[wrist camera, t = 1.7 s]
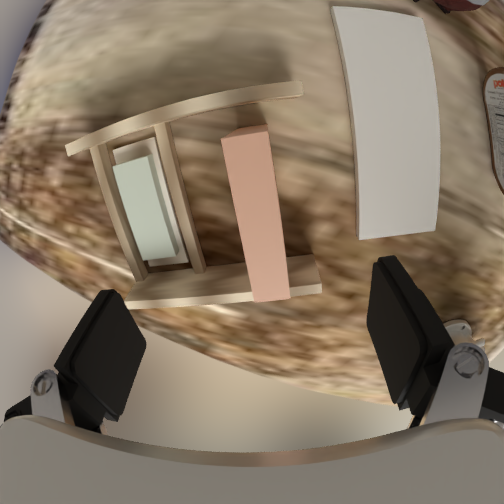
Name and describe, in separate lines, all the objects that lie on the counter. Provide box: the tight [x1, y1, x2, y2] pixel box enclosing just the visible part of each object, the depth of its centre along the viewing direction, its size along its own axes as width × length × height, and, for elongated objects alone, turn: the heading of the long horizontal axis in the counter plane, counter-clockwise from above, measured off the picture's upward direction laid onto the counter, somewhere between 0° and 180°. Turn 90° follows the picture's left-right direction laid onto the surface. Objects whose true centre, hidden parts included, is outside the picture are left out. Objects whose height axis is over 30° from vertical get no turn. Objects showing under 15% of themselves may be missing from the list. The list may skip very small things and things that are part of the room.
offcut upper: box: [113, 154, 179, 260], centre depth 24 cm, size 4×10×1 cm, turn 9°
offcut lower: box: [113, 137, 189, 267], centre depth 25 cm, size 5×13×1 cm, turn 9°
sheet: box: [221, 124, 290, 303], centre depth 20 cm, size 2×11×9 cm, turn 10°
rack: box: [65, 80, 322, 309], centre depth 22 cm, size 19×17×5 cm
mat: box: [330, 6, 440, 240], centre depth 19 cm, size 9×22×1 cm, turn 10°
